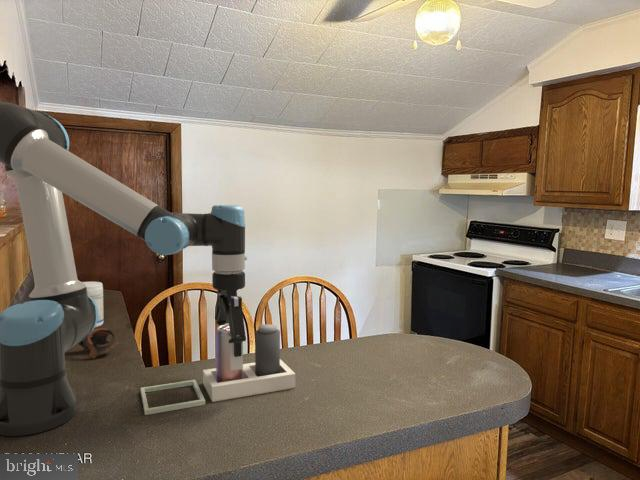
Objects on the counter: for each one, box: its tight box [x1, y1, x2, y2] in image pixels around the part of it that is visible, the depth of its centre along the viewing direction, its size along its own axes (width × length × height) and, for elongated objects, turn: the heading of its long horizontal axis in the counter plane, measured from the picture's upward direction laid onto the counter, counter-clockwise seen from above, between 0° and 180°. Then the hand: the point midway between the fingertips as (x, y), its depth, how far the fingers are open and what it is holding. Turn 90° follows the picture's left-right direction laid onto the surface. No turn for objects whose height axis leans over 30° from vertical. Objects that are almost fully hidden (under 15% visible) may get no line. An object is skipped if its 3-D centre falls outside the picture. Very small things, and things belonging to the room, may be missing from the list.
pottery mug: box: [77, 327, 119, 360], centre depth 136 cm, size 12×10×8 cm
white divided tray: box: [202, 358, 296, 403], centre depth 115 cm, size 20×11×4 cm, turn 114°
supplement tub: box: [81, 281, 105, 328], centre depth 163 cm, size 10×10×15 cm
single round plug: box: [254, 323, 281, 377], centre depth 116 cm, size 6×6×14 cm
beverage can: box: [215, 324, 242, 383], centre depth 112 cm, size 6×6×15 cm
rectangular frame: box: [140, 379, 206, 416], centre depth 108 cm, size 13×13×1 cm
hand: (229, 359), depth 112 cm, fingers open, 13 cm apart
